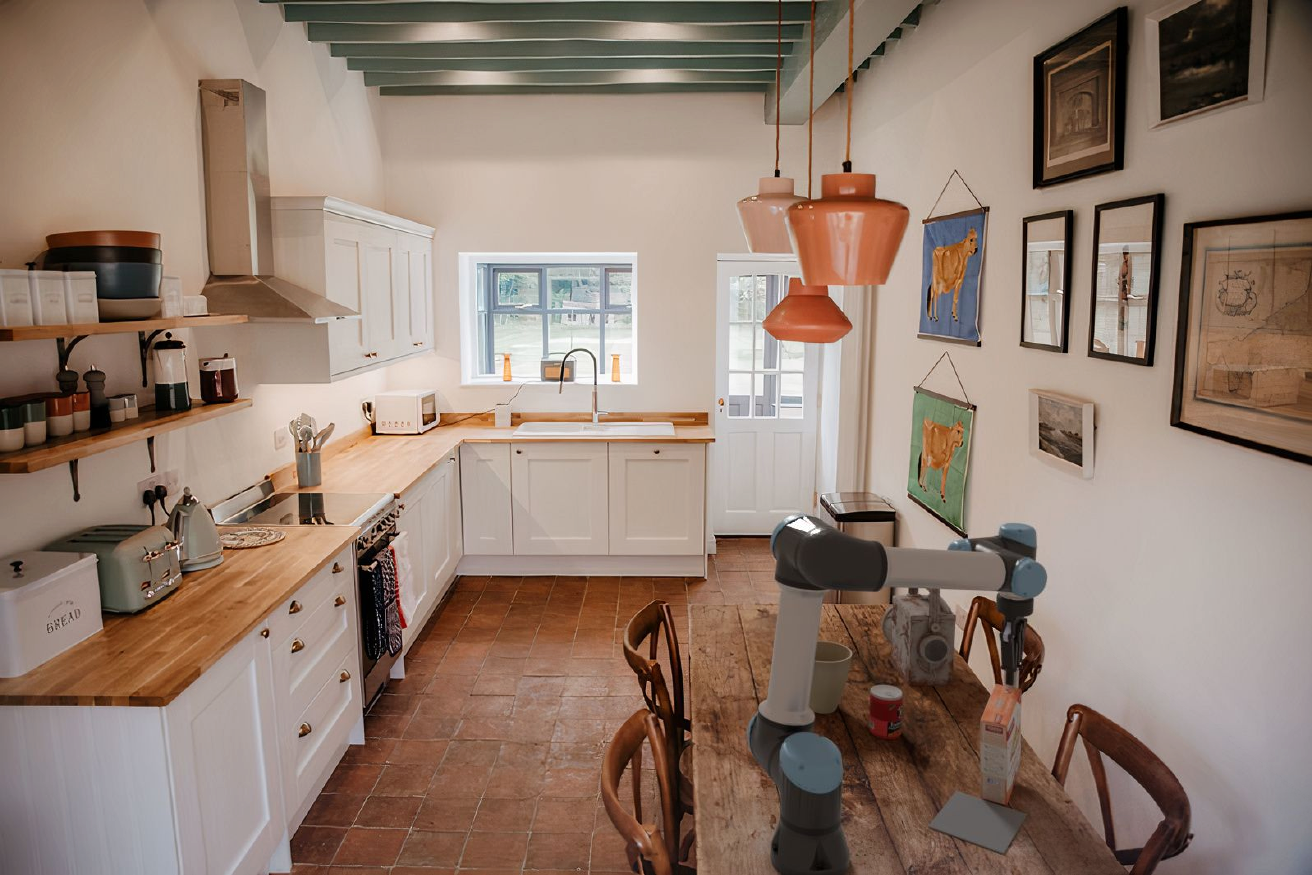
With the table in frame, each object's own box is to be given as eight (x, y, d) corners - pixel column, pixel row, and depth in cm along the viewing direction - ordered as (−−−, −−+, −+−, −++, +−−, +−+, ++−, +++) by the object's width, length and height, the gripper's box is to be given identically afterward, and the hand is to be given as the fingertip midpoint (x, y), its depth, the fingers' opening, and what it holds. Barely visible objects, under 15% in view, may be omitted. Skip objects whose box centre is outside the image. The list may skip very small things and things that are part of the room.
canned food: (892, 743, 215) (893, 700, 213) (863, 732, 220) (864, 691, 219) (907, 731, 220) (908, 690, 219) (878, 722, 226) (879, 681, 224)
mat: (1003, 854, 171) (1003, 852, 171) (928, 827, 180) (928, 825, 180) (1027, 815, 184) (1027, 814, 184) (956, 791, 193) (956, 790, 193)
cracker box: (1009, 807, 187) (1008, 727, 180) (979, 799, 190) (978, 719, 183) (1023, 765, 198) (1022, 687, 191) (995, 758, 201) (993, 681, 194)
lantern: (928, 651, 271) (931, 557, 266) (961, 689, 244) (965, 585, 240) (877, 652, 270) (880, 558, 266) (905, 690, 244) (908, 587, 239)
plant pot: (852, 722, 226) (853, 663, 223) (793, 718, 228) (794, 660, 226) (849, 697, 240) (851, 641, 238) (794, 693, 243) (795, 638, 240)
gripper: (1024, 606, 183) (1019, 712, 187) (1041, 589, 193) (1036, 690, 197) (988, 599, 188) (984, 703, 191) (1006, 583, 198) (1001, 682, 201)
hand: (1010, 696), depth 194 cm, fingers closed
